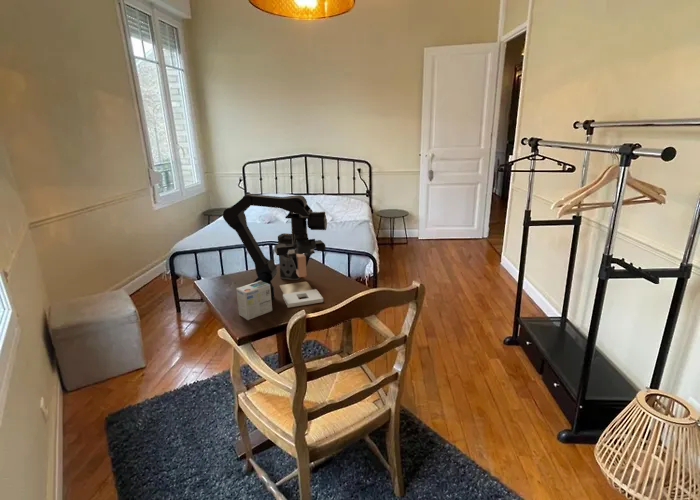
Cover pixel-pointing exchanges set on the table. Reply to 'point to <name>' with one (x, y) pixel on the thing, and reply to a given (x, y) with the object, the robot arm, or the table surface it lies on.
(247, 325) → the table surface
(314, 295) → the white slotted plate
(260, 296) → the light bulb box
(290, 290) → the pad
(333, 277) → the table surface
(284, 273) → the electronic device
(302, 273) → the plug
